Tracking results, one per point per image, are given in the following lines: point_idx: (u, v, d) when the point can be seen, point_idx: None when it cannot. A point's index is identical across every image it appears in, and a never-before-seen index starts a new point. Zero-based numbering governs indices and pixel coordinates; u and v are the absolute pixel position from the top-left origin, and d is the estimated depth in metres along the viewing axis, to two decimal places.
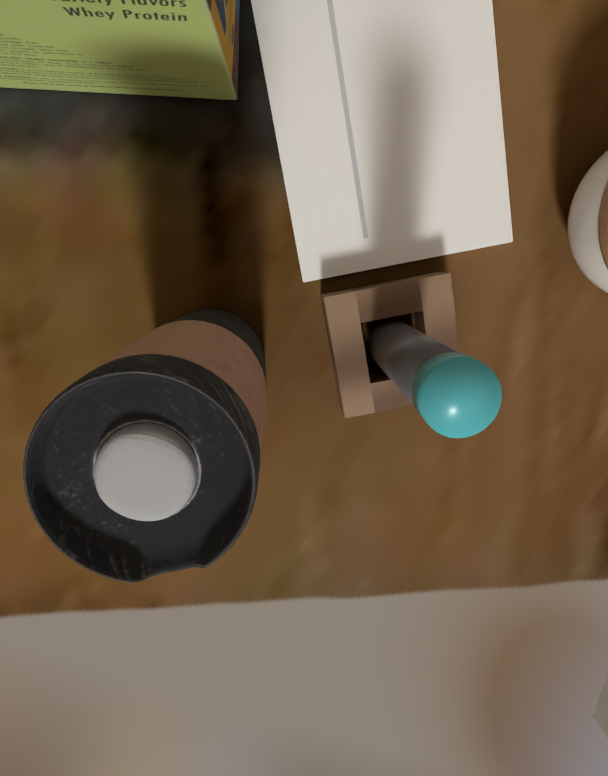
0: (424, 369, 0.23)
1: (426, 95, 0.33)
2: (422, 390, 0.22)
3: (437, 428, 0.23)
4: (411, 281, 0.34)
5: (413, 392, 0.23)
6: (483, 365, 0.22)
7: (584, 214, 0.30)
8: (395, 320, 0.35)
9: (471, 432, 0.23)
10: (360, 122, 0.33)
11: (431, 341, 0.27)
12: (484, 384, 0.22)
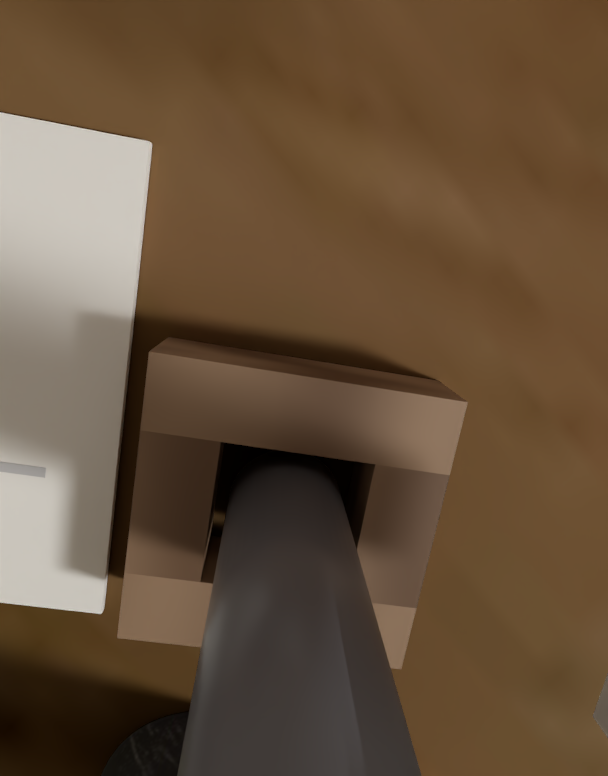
0: None
1: None
2: None
3: None
4: (141, 447, 0.14)
5: None
6: None
7: None
8: (233, 483, 0.15)
9: None
10: None
11: (183, 760, 0.07)
12: None
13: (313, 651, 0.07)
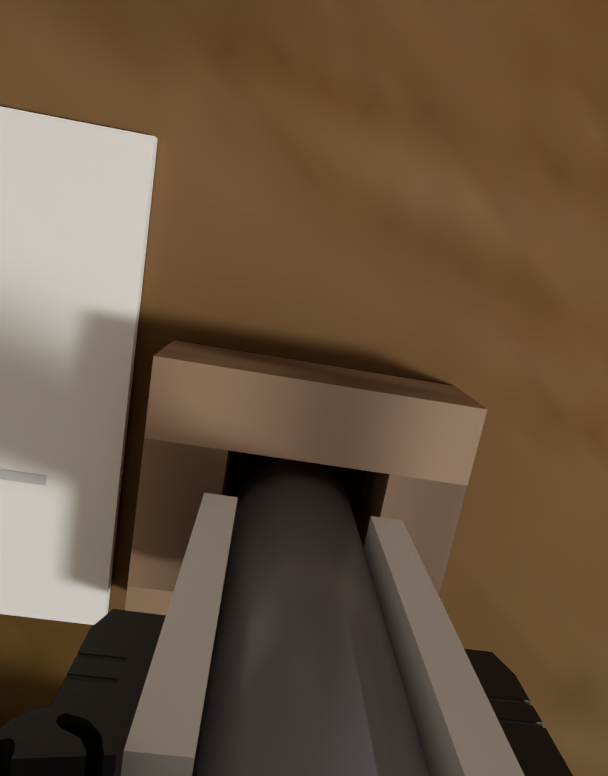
0: None
1: None
2: None
3: None
4: (145, 456, 0.13)
5: None
6: None
7: None
8: (238, 493, 0.14)
9: None
10: None
11: None
12: None
13: (328, 692, 0.07)
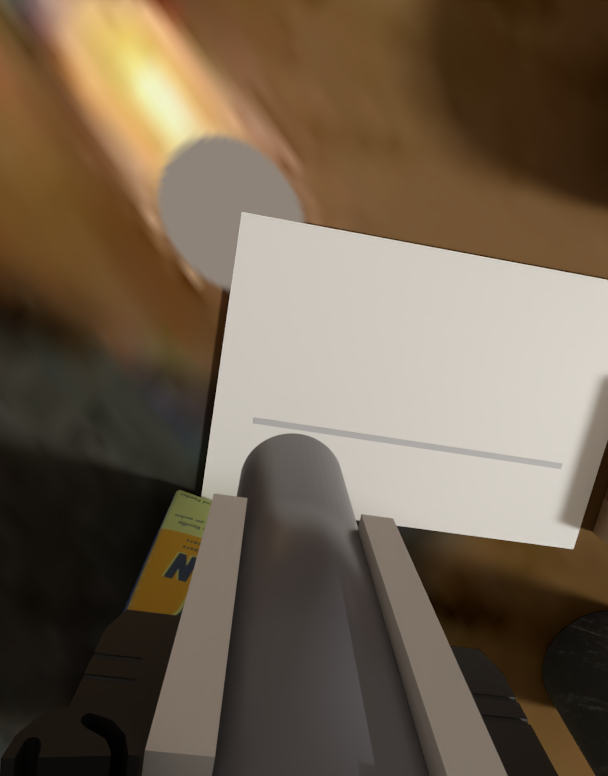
0: None
1: (442, 348, 0.26)
2: None
3: None
4: None
5: None
6: None
7: None
8: (244, 463, 0.17)
9: None
10: (437, 433, 0.27)
11: None
12: None
13: (316, 588, 0.09)
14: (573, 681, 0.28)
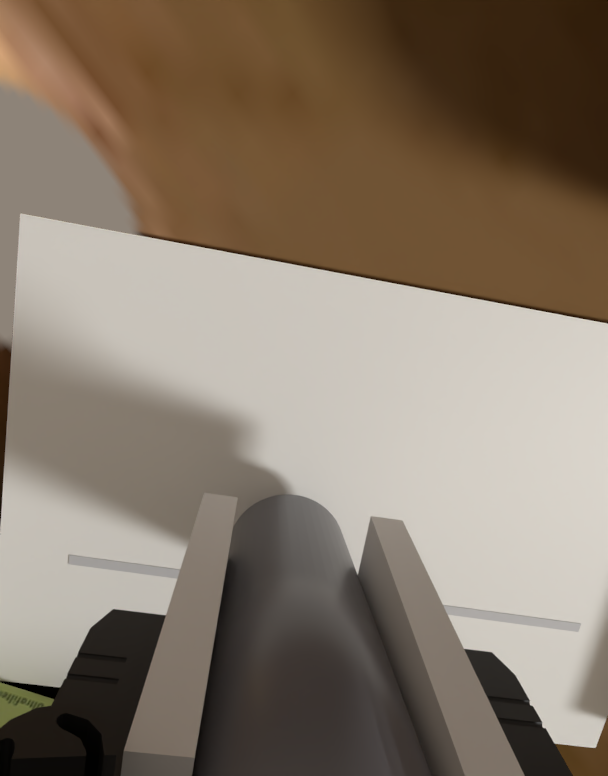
0: None
1: (381, 444, 0.16)
2: None
3: None
4: None
5: None
6: None
7: None
8: None
9: None
10: None
11: None
12: None
13: (320, 693, 0.07)
14: None
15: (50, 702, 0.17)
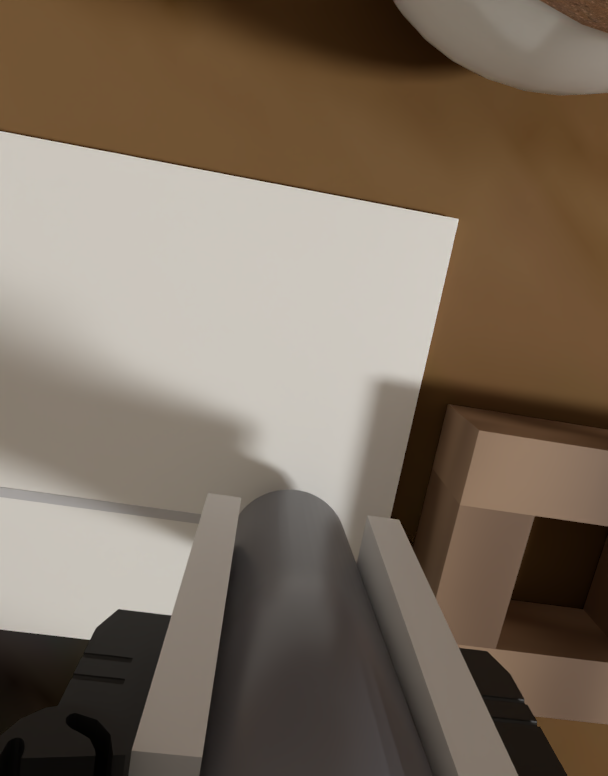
0: None
1: (71, 327, 0.14)
2: None
3: None
4: (457, 521, 0.14)
5: None
6: None
7: (524, 54, 0.09)
8: None
9: None
10: (88, 479, 0.15)
11: None
12: None
13: (318, 693, 0.07)
14: None
15: None
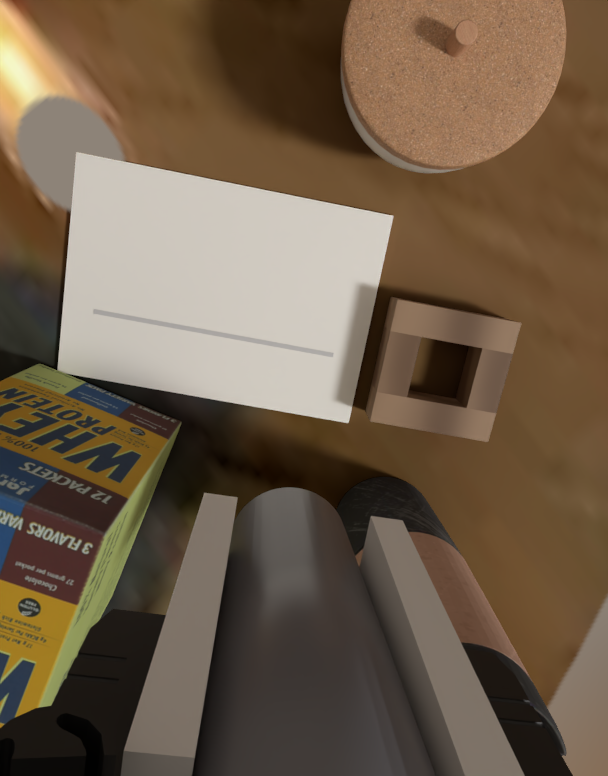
0: None
1: (232, 258, 0.35)
2: None
3: None
4: (389, 338, 0.34)
5: None
6: None
7: (400, 164, 0.29)
8: None
9: None
10: (234, 326, 0.36)
11: None
12: None
13: (319, 688, 0.07)
14: None
15: (84, 381, 0.36)
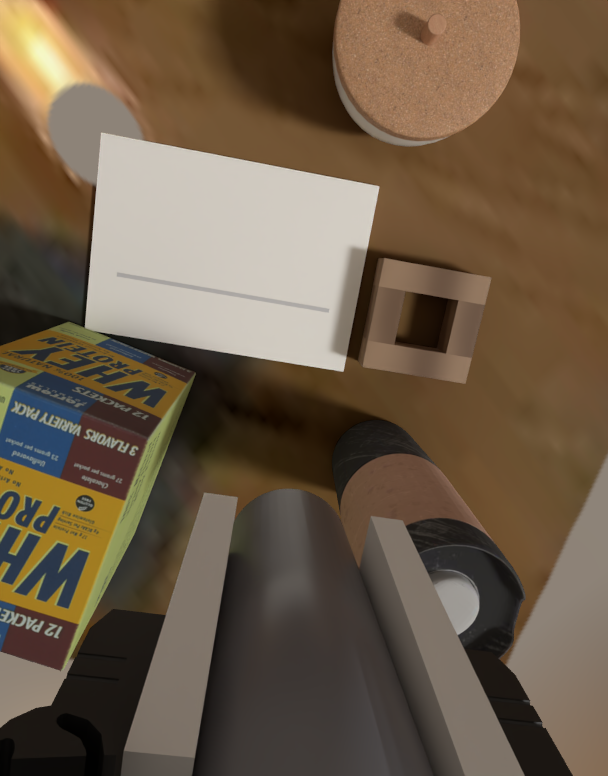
0: None
1: (239, 225, 0.40)
2: None
3: None
4: (378, 292, 0.39)
5: None
6: None
7: (384, 138, 0.34)
8: None
9: None
10: (241, 285, 0.41)
11: None
12: None
13: (319, 692, 0.07)
14: (337, 456, 0.42)
15: None
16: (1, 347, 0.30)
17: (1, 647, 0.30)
